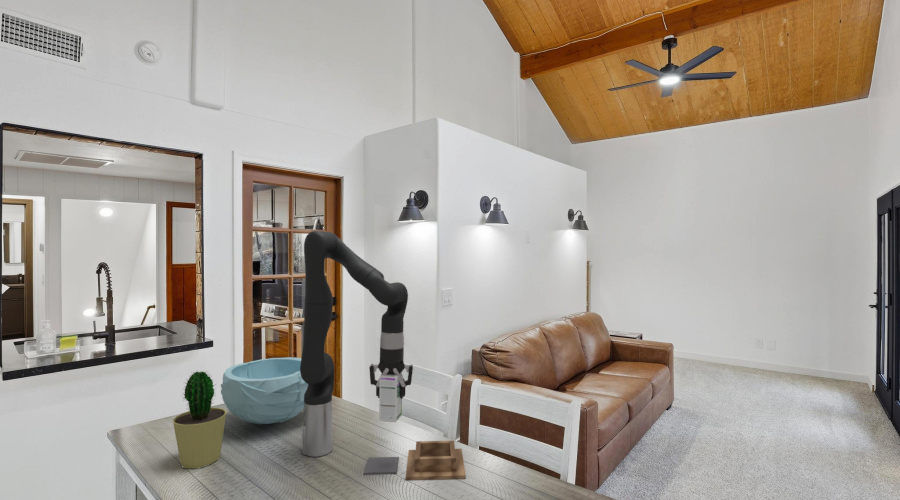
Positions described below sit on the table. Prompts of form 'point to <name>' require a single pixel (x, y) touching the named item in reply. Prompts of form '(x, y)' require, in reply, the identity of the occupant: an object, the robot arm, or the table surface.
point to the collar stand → (435, 461)
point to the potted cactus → (199, 424)
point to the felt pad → (381, 465)
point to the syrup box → (390, 398)
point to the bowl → (264, 390)
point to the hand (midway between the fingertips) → (390, 397)
